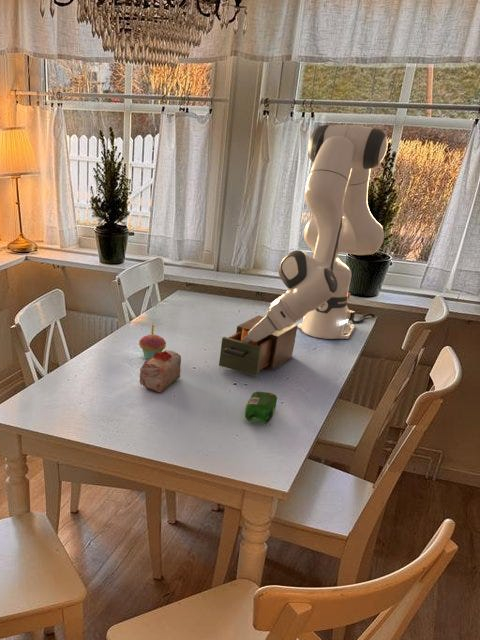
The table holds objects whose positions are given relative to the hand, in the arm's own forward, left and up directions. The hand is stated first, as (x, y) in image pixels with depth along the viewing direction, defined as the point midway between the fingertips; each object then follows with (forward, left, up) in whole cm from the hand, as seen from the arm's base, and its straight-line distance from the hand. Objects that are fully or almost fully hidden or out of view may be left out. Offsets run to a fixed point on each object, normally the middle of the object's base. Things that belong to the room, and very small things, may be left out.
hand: (247, 337), depth 198 cm
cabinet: (-12, +1, -10) cm, 16 cm away
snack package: (+28, +20, -10) cm, 36 cm away
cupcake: (+12, -26, -10) cm, 31 cm away
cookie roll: (0, +1, -4) cm, 4 cm away
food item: (+28, -12, -10) cm, 32 cm away
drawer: (+1, +1, -9) cm, 9 cm away
